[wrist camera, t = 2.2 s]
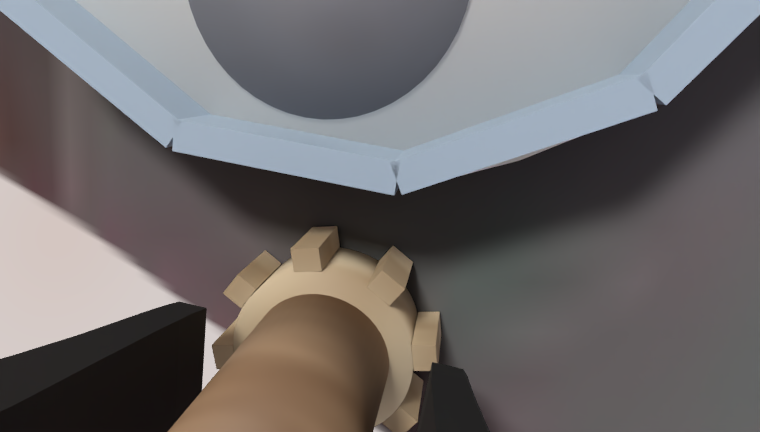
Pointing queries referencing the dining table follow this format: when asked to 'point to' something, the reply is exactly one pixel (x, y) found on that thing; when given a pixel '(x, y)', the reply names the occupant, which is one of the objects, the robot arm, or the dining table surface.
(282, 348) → the gear
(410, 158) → the carrier plate
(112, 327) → the robot arm
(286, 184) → the dining table surface
